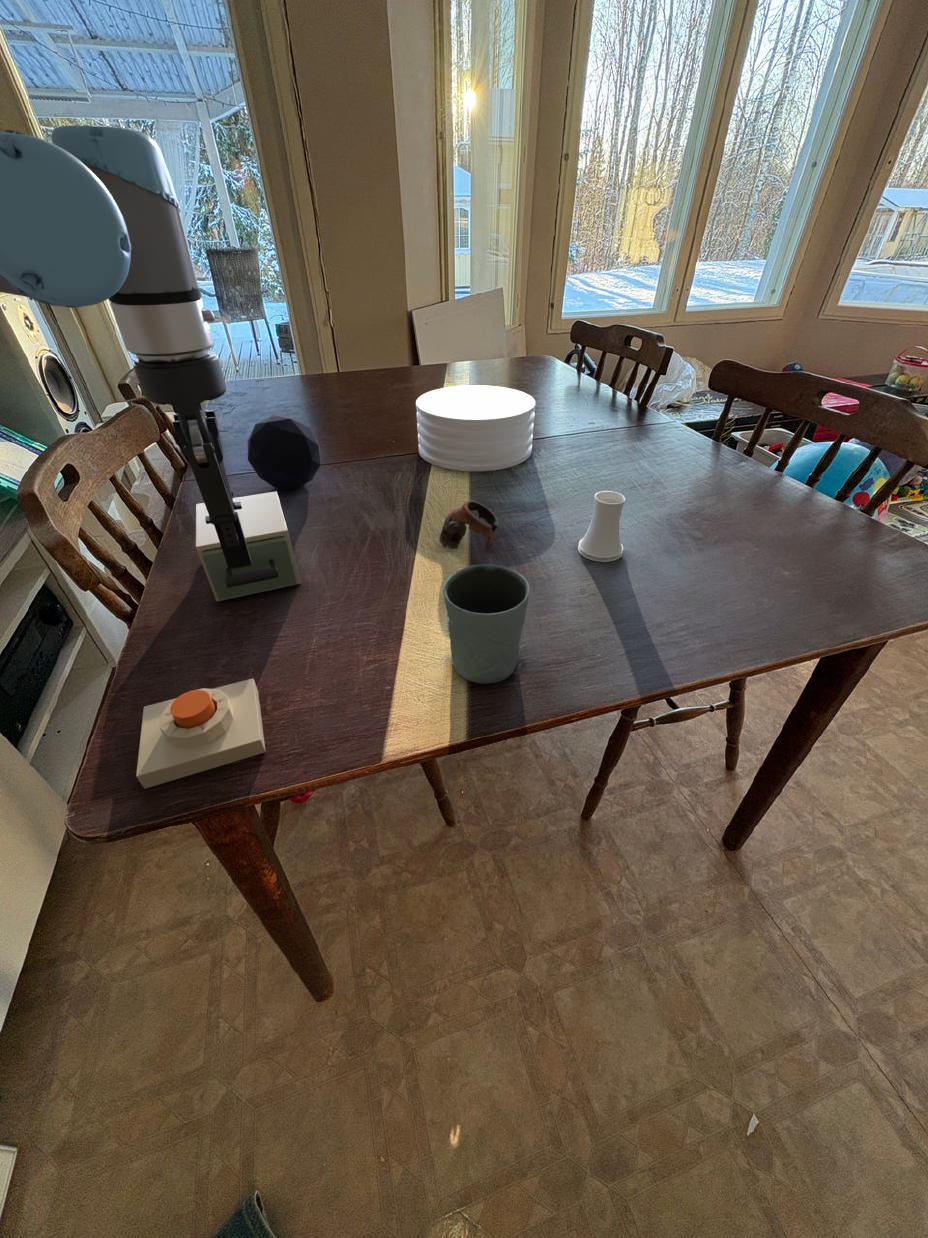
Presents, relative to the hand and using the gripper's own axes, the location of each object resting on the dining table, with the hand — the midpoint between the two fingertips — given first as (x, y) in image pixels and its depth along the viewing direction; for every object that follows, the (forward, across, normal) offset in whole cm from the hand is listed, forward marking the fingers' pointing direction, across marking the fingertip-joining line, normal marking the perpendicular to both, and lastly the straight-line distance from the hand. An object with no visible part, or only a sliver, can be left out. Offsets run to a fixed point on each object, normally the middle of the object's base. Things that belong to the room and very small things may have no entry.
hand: (240, 564), depth 63 cm
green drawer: (+11, +15, 0) cm, 19 cm away
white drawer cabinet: (+12, +19, 0) cm, 23 cm away
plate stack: (+12, +55, -56) cm, 79 cm away
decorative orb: (+12, +51, -10) cm, 54 cm away
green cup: (+12, -16, -26) cm, 33 cm away
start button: (+9, -15, +8) cm, 19 cm away
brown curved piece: (+12, +13, -36) cm, 40 cm away
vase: (+12, +2, -56) cm, 58 cm away
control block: (+12, -15, +8) cm, 21 cm away
